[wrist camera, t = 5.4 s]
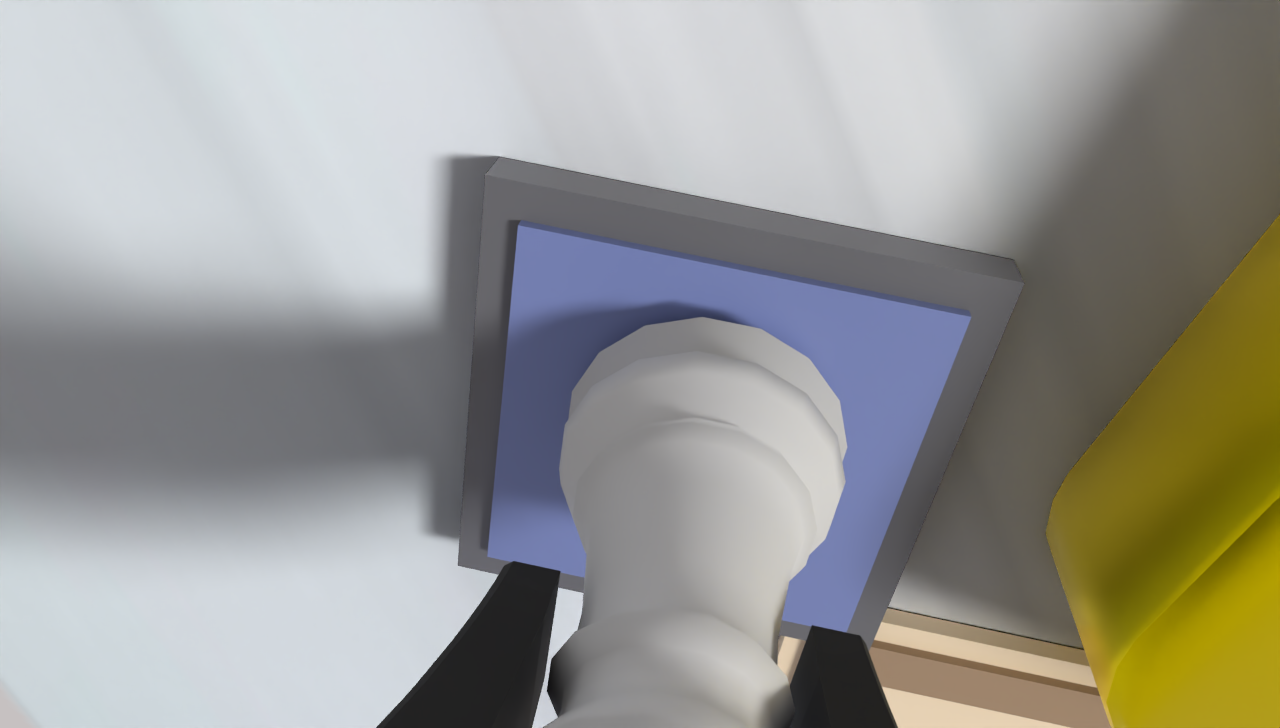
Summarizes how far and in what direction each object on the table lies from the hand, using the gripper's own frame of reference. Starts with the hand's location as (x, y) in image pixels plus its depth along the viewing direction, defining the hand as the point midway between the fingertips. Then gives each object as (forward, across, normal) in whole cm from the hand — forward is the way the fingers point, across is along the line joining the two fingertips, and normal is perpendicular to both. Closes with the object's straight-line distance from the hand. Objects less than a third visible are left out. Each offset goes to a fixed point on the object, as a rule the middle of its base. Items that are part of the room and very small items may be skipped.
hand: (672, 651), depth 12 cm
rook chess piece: (+4, 0, -1) cm, 5 cm away
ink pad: (+5, 0, 0) cm, 5 cm away
